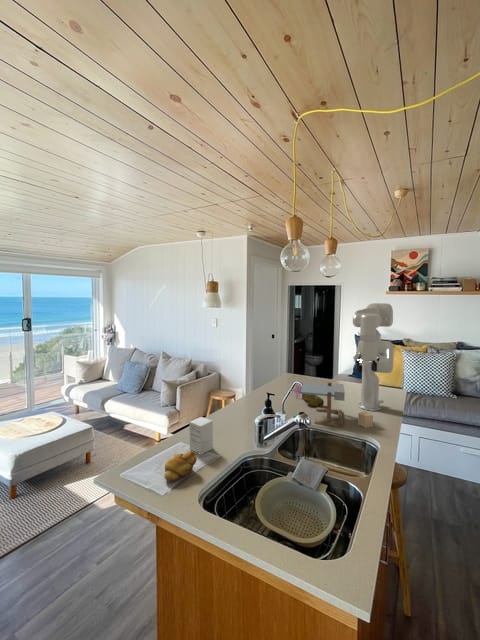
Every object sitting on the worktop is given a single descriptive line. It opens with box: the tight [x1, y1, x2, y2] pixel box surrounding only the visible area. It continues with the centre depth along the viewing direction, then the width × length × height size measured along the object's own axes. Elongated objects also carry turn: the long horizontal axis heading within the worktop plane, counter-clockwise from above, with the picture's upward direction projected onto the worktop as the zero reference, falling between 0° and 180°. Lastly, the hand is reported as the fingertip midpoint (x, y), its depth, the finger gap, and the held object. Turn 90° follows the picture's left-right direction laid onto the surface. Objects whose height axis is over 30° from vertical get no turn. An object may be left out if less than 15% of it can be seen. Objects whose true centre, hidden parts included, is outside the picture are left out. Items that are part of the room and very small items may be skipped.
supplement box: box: [189, 416, 214, 455], centre depth 133 cm, size 7×7×13 cm
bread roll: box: [164, 450, 198, 483], centre depth 114 cm, size 13×10×8 cm
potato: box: [301, 394, 325, 407], centre depth 189 cm, size 8×13×8 cm, turn 50°
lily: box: [291, 381, 307, 400], centre depth 204 cm, size 12×12×10 cm
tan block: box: [357, 411, 374, 429], centre depth 160 cm, size 5×5×6 cm
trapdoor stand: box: [314, 382, 344, 428], centre depth 169 cm, size 14×22×17 cm, turn 163°
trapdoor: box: [300, 383, 346, 402], centre depth 170 cm, size 22×16×4 cm
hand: (366, 371), depth 158 cm, fingers open, 9 cm apart
